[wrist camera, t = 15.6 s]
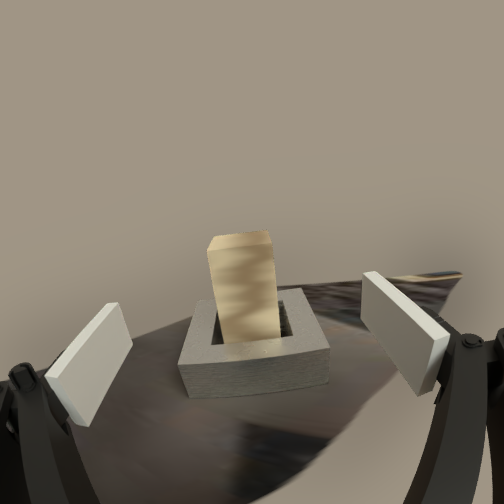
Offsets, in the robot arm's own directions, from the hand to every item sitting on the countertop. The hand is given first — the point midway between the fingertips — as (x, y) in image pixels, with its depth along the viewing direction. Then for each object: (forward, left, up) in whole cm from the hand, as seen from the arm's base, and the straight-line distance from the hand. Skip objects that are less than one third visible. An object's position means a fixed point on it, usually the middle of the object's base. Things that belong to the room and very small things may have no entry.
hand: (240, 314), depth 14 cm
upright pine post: (0, +10, -10) cm, 15 cm away
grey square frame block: (0, +11, -10) cm, 15 cm away
